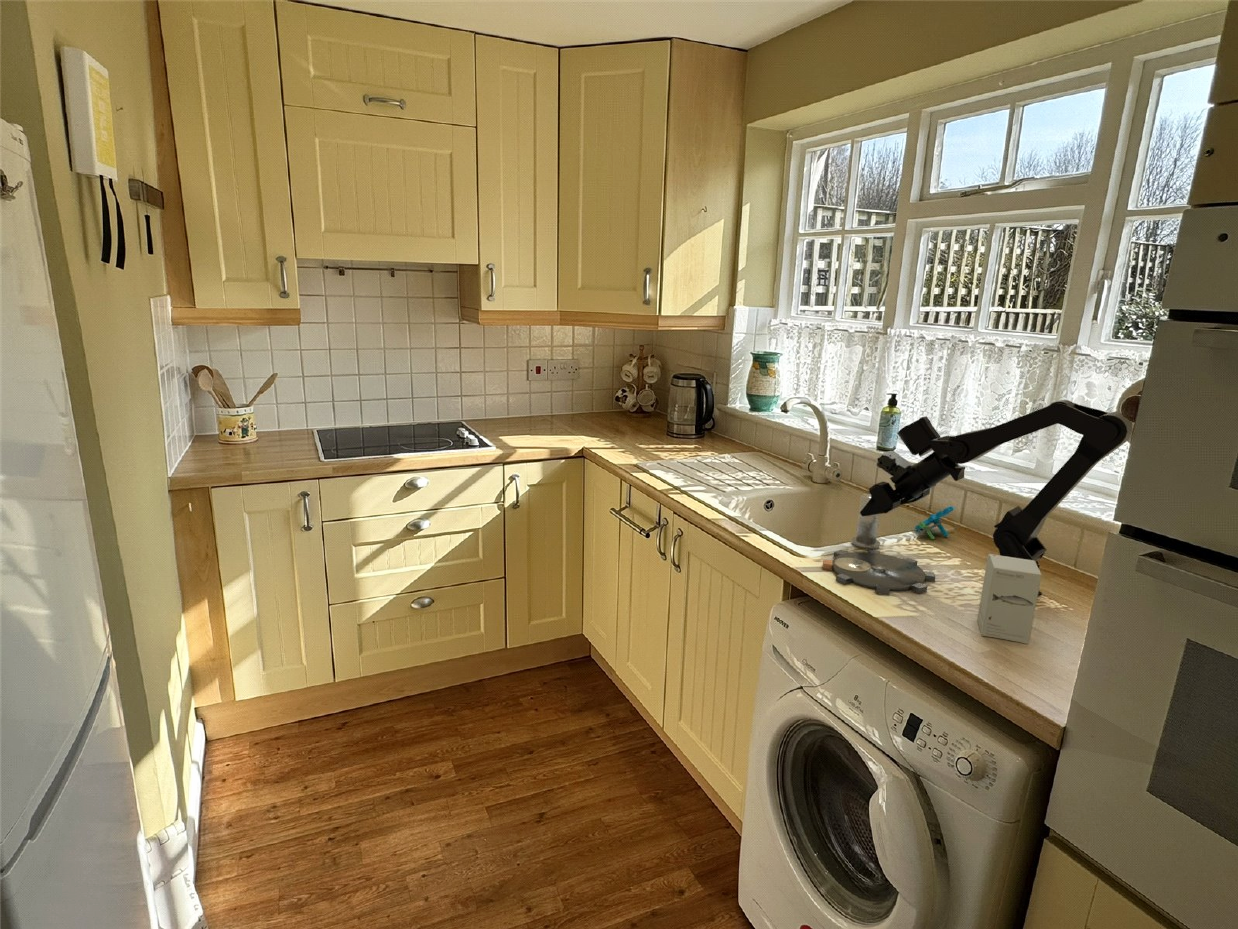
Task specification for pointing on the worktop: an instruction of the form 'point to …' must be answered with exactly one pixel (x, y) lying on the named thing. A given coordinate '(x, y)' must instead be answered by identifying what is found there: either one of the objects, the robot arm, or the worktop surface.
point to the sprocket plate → (879, 572)
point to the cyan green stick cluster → (935, 520)
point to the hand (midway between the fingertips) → (871, 510)
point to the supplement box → (1009, 598)
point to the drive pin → (866, 528)
